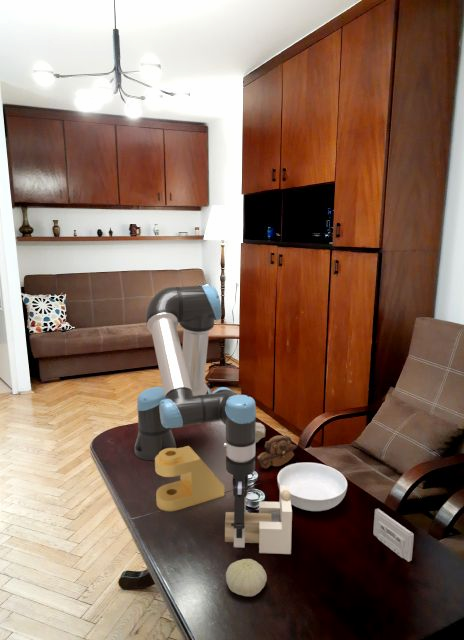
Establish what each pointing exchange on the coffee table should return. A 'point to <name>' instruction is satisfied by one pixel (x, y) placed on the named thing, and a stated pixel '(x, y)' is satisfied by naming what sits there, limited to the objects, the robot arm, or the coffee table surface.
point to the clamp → (185, 479)
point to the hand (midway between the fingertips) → (240, 528)
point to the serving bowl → (313, 485)
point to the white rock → (259, 431)
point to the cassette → (393, 535)
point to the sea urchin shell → (246, 577)
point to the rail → (248, 525)
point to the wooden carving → (277, 451)
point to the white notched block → (276, 525)
